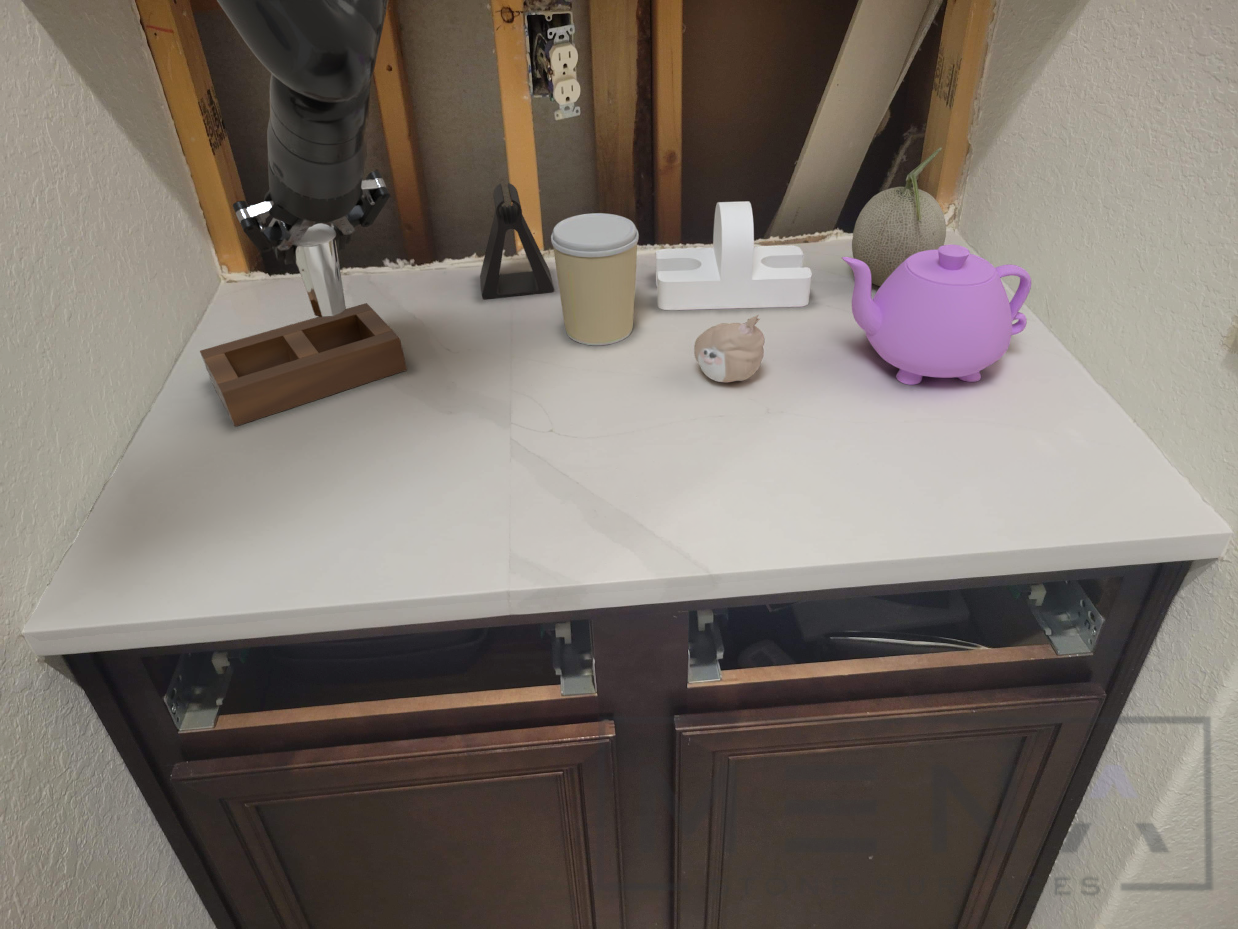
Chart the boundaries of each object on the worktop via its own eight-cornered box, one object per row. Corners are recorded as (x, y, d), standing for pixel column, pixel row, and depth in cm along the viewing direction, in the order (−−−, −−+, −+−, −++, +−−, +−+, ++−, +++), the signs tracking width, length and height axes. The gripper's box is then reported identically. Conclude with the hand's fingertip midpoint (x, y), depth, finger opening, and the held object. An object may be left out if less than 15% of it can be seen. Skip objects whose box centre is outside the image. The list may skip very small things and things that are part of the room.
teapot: (842, 403, 81) (861, 286, 73) (810, 333, 92) (824, 225, 84) (1044, 393, 81) (1084, 276, 73) (987, 325, 92) (1017, 217, 85)
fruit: (856, 305, 97) (877, 178, 88) (839, 264, 106) (856, 145, 97) (946, 304, 96) (976, 176, 87) (921, 263, 106) (946, 144, 96)
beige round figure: (712, 399, 82) (716, 328, 77) (685, 369, 87) (686, 300, 82) (770, 384, 84) (777, 314, 79) (740, 356, 88) (745, 287, 84)
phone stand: (549, 272, 107) (541, 179, 100) (554, 292, 102) (546, 196, 95) (480, 279, 106) (467, 186, 98) (482, 299, 101) (468, 203, 94)
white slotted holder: (655, 275, 105) (655, 191, 98) (796, 271, 105) (805, 187, 98) (658, 310, 97) (658, 222, 91) (810, 306, 97) (821, 217, 91)
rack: (407, 370, 88) (400, 337, 86) (235, 427, 81) (221, 392, 78) (374, 334, 95) (366, 302, 92) (212, 383, 87) (199, 350, 85)
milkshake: (367, 308, 85) (347, 213, 80) (320, 324, 82) (296, 227, 77) (345, 295, 88) (324, 202, 82) (299, 311, 85) (274, 216, 79)
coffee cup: (620, 304, 99) (617, 206, 92) (653, 338, 92) (653, 235, 85) (547, 320, 96) (538, 220, 89) (575, 356, 89) (568, 252, 82)
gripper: (381, 99, 71) (364, 199, 86) (208, 131, 65) (223, 232, 80) (417, 177, 70) (393, 263, 86) (246, 216, 64) (253, 301, 80)
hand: (311, 248), depth 83 cm, fingers closed on milkshake, 4 cm apart
